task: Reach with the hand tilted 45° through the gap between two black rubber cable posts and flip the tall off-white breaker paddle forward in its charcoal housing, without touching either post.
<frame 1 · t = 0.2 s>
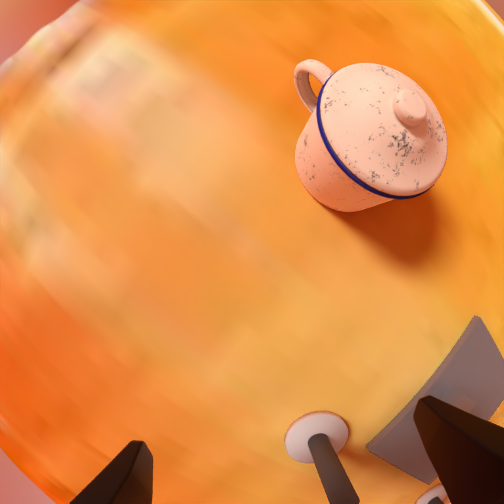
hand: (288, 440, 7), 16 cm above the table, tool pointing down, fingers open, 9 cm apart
cable post 2: (315, 435, 23), on the table
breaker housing: (447, 418, 24), on the table
cable post 1: (430, 497, 24), on the table
teacup with lid: (331, 150, 24), on the table
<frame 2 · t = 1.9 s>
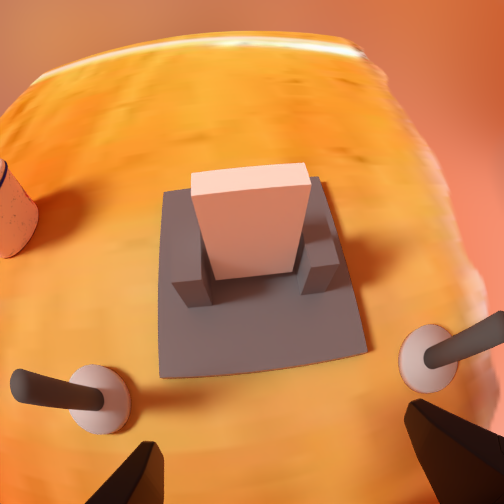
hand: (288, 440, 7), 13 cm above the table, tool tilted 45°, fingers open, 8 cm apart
breaker paddle: (251, 231, 19), point 7 cm above the table, hinge at 0.0°
cable post 2: (99, 400, 20), on the table
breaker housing: (253, 277, 25), on the table
cable post 1: (426, 360, 21), on the table
teacup with lid: (11, 231, 29), on the table
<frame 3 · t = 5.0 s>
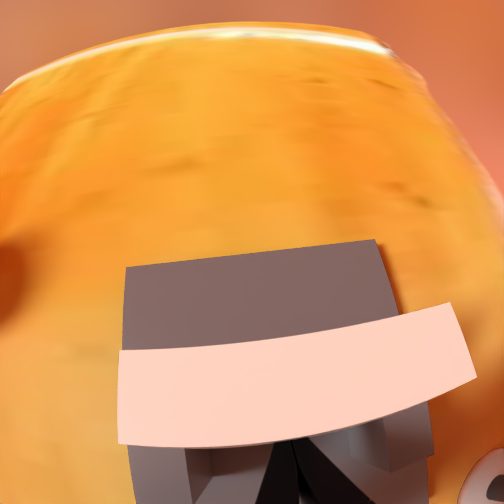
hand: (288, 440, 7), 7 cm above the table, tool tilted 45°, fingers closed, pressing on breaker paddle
breaker paddle: (286, 416, 8), point 7 cm above the table, hinge at 8.3°, touching gripper
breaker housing: (275, 425, 13), on the table
cable post 1: (487, 486, 9), on the table
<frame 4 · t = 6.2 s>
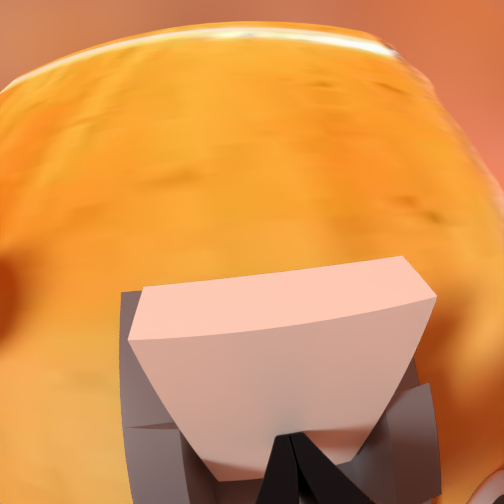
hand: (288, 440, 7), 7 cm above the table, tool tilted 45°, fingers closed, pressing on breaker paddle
breaker paddle: (285, 415, 8), point 6 cm above the table, hinge at 29.4°, touching gripper
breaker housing: (280, 457, 12), on the table
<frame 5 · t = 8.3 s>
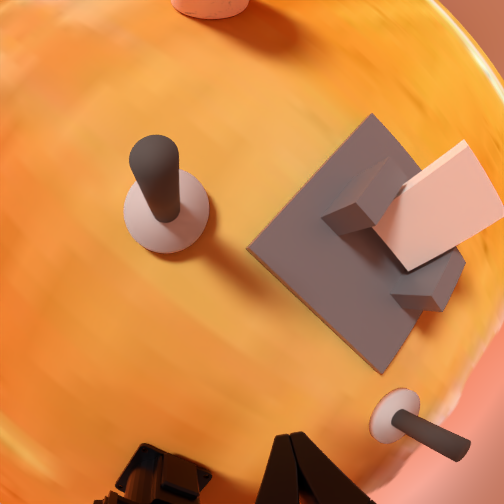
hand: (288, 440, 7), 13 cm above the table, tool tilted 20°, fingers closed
breaker paddle: (437, 210, 18), point 6 cm above the table, hinge at 29.4°
cable post 2: (166, 211, 20), on the table
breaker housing: (374, 245, 24), on the table
cable post 1: (392, 414, 23), on the table
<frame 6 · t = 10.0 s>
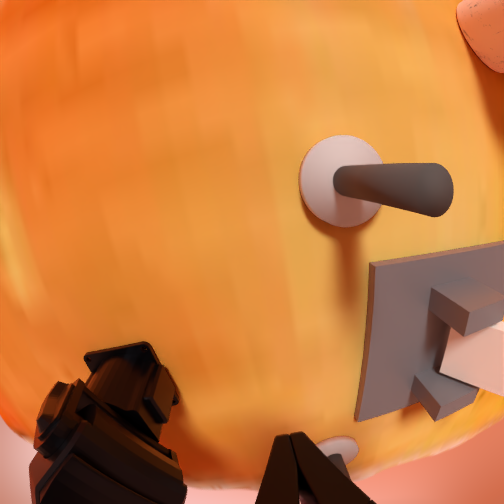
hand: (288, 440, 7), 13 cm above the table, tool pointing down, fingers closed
breaker paddle: (494, 357, 17), point 6 cm above the table, hinge at 29.4°
cable post 2: (341, 180, 19), on the table
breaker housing: (436, 332, 23), on the table
cable post 1: (330, 452, 26), on the table
teacup with lid: (479, 26, 15), on the table
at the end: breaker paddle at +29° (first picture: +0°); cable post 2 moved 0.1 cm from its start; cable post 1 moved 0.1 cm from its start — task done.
